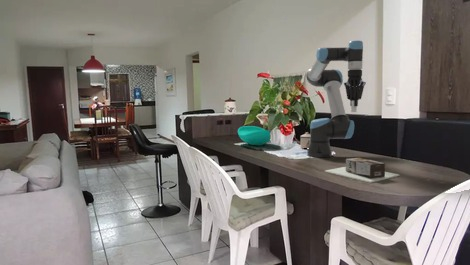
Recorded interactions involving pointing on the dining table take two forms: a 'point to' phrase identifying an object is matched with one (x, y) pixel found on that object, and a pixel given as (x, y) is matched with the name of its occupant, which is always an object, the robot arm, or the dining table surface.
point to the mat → (344, 173)
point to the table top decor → (254, 135)
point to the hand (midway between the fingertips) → (353, 112)
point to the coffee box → (365, 167)
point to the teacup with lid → (305, 140)
